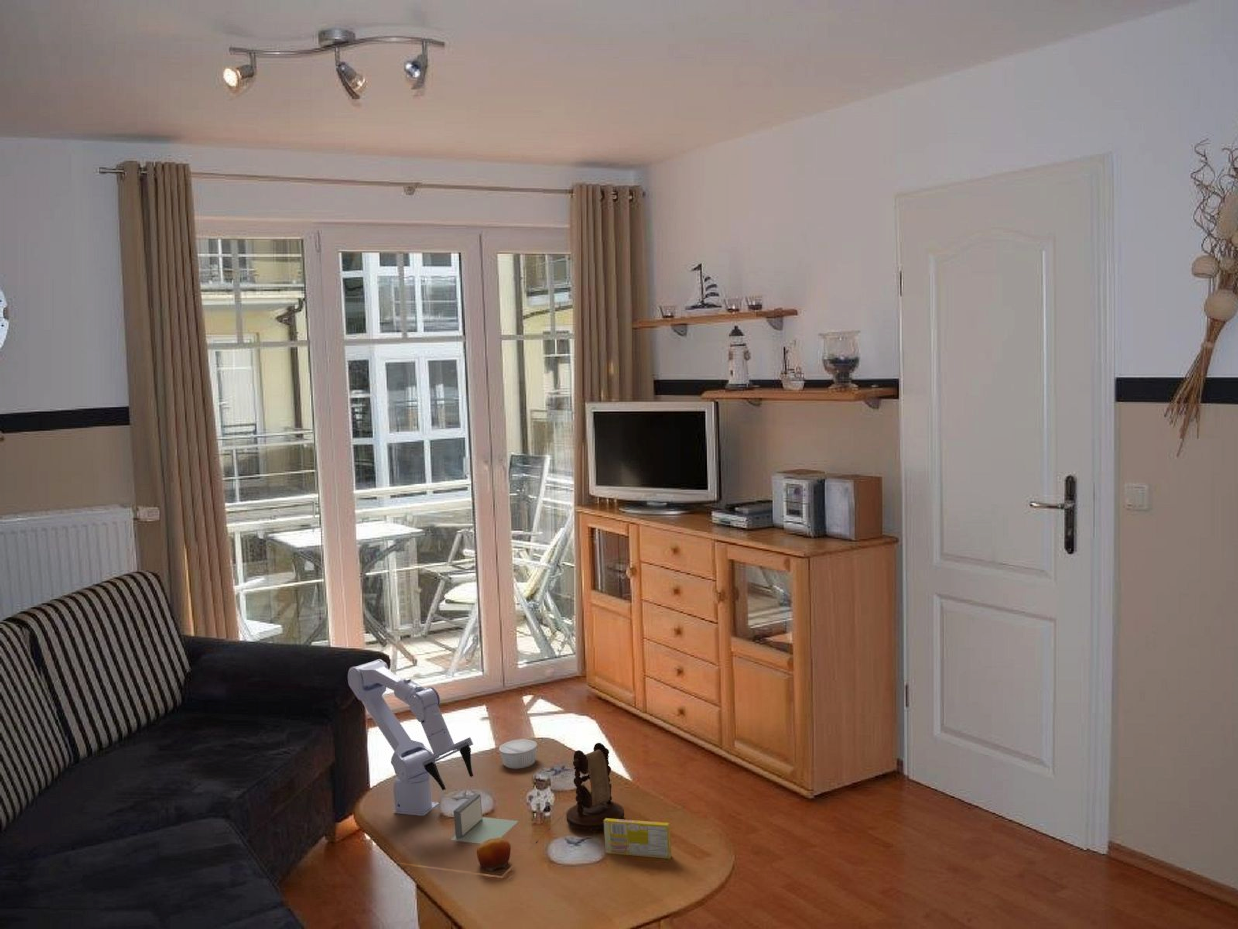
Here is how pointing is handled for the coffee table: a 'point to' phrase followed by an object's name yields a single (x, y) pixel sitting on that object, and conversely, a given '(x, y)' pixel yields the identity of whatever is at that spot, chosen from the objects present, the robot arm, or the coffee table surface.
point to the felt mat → (487, 830)
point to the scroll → (593, 791)
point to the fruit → (494, 853)
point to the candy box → (637, 838)
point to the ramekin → (518, 753)
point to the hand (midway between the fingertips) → (458, 783)
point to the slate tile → (468, 815)
